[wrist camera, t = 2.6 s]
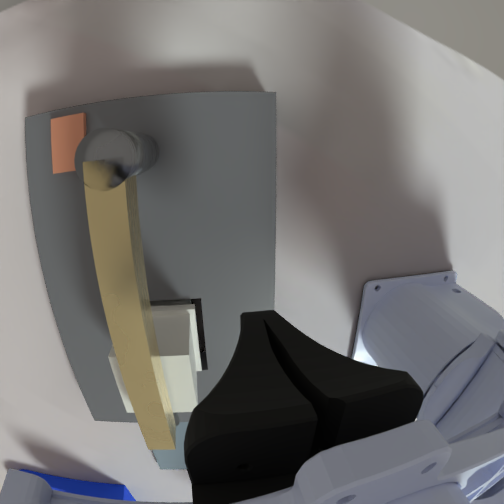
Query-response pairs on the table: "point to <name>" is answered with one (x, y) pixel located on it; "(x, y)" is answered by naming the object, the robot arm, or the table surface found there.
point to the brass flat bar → (126, 270)
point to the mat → (173, 451)
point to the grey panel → (162, 223)
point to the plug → (172, 354)
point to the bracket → (86, 487)
